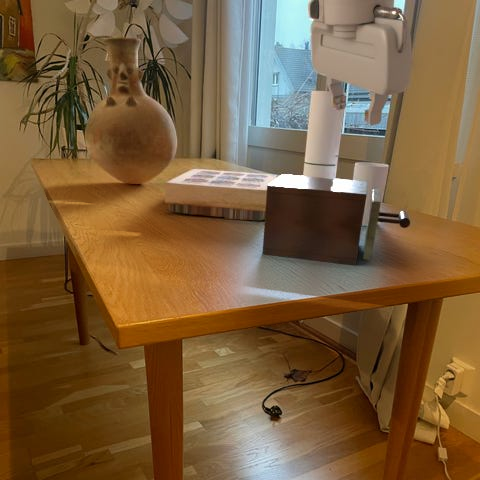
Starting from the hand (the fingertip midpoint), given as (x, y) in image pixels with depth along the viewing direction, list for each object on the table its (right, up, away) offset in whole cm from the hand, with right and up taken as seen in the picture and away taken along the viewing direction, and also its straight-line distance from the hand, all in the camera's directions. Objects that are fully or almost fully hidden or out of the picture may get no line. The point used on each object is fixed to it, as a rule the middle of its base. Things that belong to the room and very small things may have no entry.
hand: (354, 115), depth 70 cm
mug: (+10, -9, +33) cm, 36 cm away
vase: (-46, +8, +62) cm, 78 cm away
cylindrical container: (0, -6, +39) cm, 39 cm away
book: (-21, -3, +42) cm, 47 cm away
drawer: (+1, -18, +10) cm, 21 cm away
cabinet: (-4, -18, +12) cm, 22 cm away
